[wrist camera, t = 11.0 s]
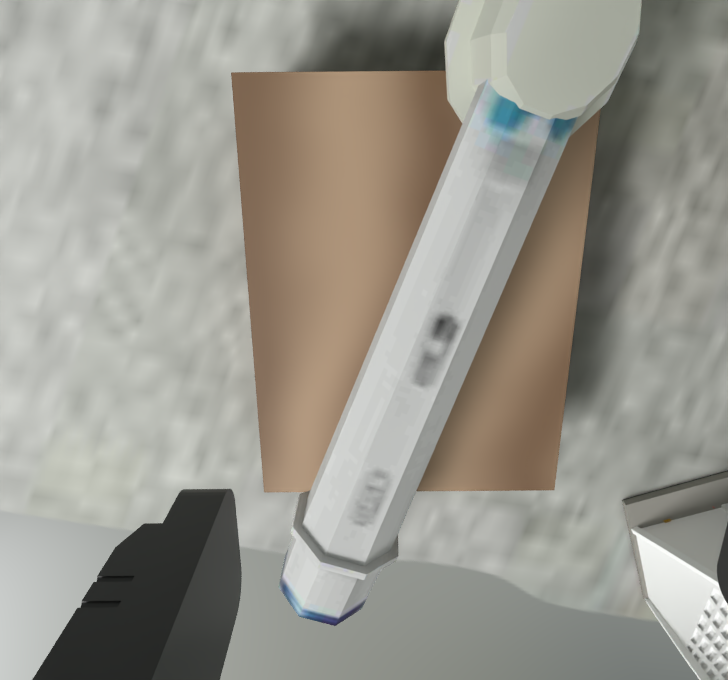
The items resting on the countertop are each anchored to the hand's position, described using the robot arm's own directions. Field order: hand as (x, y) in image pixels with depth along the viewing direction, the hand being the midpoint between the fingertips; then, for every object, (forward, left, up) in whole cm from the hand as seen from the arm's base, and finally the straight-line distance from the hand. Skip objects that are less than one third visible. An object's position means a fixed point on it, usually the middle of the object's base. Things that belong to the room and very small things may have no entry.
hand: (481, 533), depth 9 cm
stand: (0, 0, -17) cm, 17 cm away
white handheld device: (0, 0, -14) cm, 14 cm away
